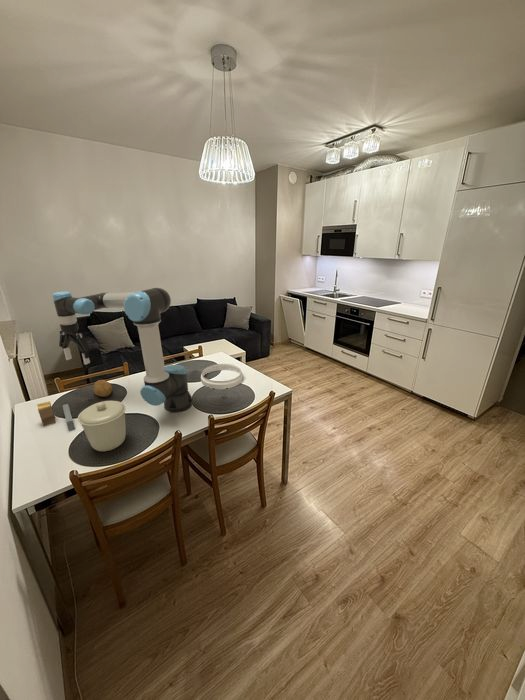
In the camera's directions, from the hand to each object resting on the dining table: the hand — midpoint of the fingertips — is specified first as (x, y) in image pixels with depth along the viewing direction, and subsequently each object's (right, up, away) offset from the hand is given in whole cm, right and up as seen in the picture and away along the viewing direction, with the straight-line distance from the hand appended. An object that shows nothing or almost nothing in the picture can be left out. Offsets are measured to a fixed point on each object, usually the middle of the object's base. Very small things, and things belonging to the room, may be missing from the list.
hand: (78, 361), depth 149 cm
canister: (+30, -36, -24) cm, 52 cm away
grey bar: (+2, -29, -9) cm, 31 cm away
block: (-8, -30, -10) cm, 32 cm away
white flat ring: (+72, -13, +35) cm, 81 cm away
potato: (+6, -20, +15) cm, 26 cm away
